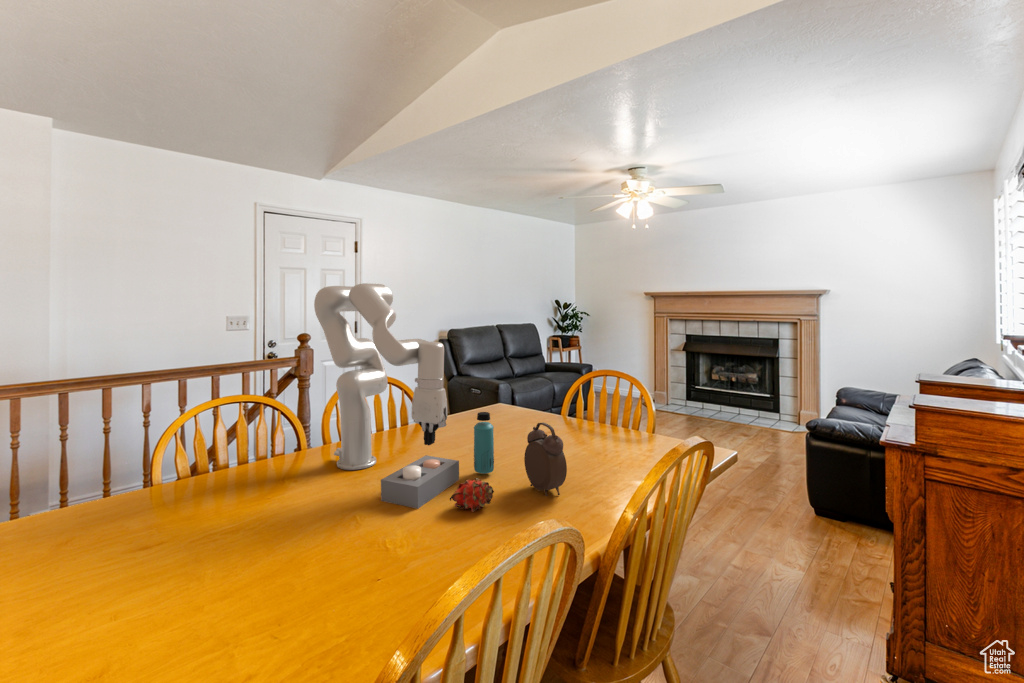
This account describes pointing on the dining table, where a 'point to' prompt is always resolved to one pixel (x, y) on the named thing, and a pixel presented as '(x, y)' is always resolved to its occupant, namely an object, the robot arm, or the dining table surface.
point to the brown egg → (431, 463)
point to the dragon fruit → (472, 494)
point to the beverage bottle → (483, 444)
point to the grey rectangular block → (419, 483)
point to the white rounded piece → (412, 472)
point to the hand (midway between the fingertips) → (429, 443)
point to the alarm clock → (545, 460)
